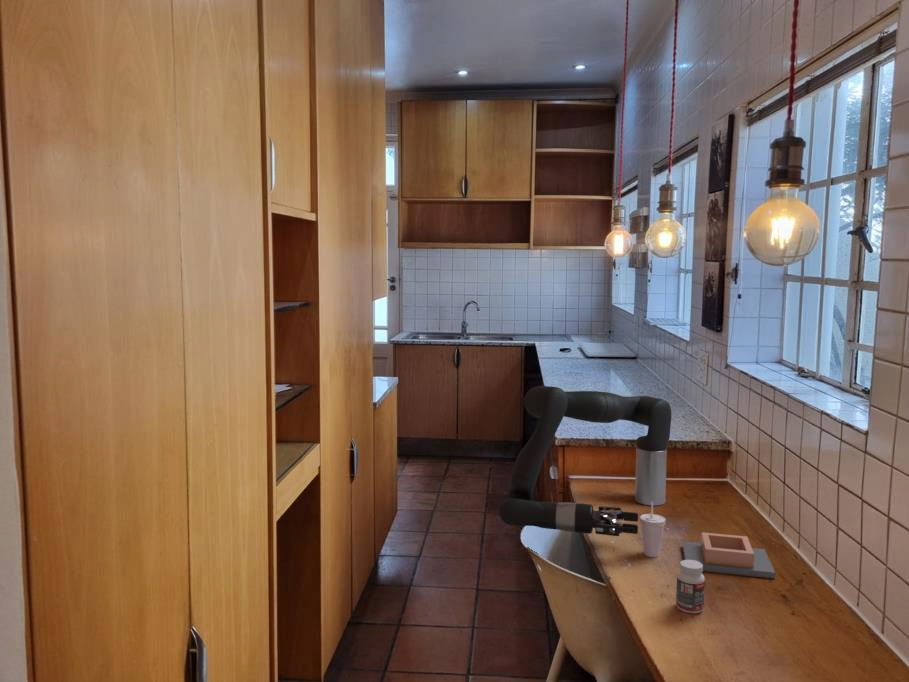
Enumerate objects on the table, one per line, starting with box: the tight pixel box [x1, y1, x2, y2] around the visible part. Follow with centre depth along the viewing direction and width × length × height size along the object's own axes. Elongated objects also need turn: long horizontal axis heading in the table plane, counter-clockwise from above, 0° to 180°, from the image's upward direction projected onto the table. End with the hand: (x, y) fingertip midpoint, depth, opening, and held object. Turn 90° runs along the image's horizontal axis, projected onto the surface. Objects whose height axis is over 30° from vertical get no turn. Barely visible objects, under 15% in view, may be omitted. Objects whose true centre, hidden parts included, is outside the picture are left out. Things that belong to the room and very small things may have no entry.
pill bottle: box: [675, 559, 706, 614], centre depth 147 cm, size 6×6×10 cm
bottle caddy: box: [682, 532, 776, 580], centre depth 170 cm, size 14×20×5 cm
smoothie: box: [639, 502, 667, 558], centre depth 174 cm, size 6×6×14 cm
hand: (638, 523), depth 175 cm, fingers open, 8 cm apart
